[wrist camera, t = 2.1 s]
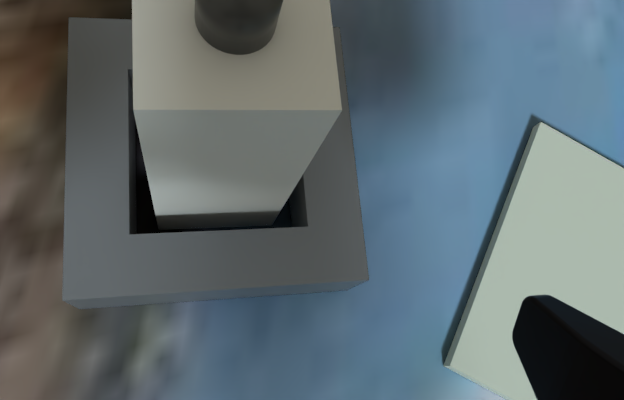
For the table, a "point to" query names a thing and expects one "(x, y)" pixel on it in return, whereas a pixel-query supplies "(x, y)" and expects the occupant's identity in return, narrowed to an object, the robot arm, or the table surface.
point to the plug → (230, 104)
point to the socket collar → (188, 245)
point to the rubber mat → (544, 257)
